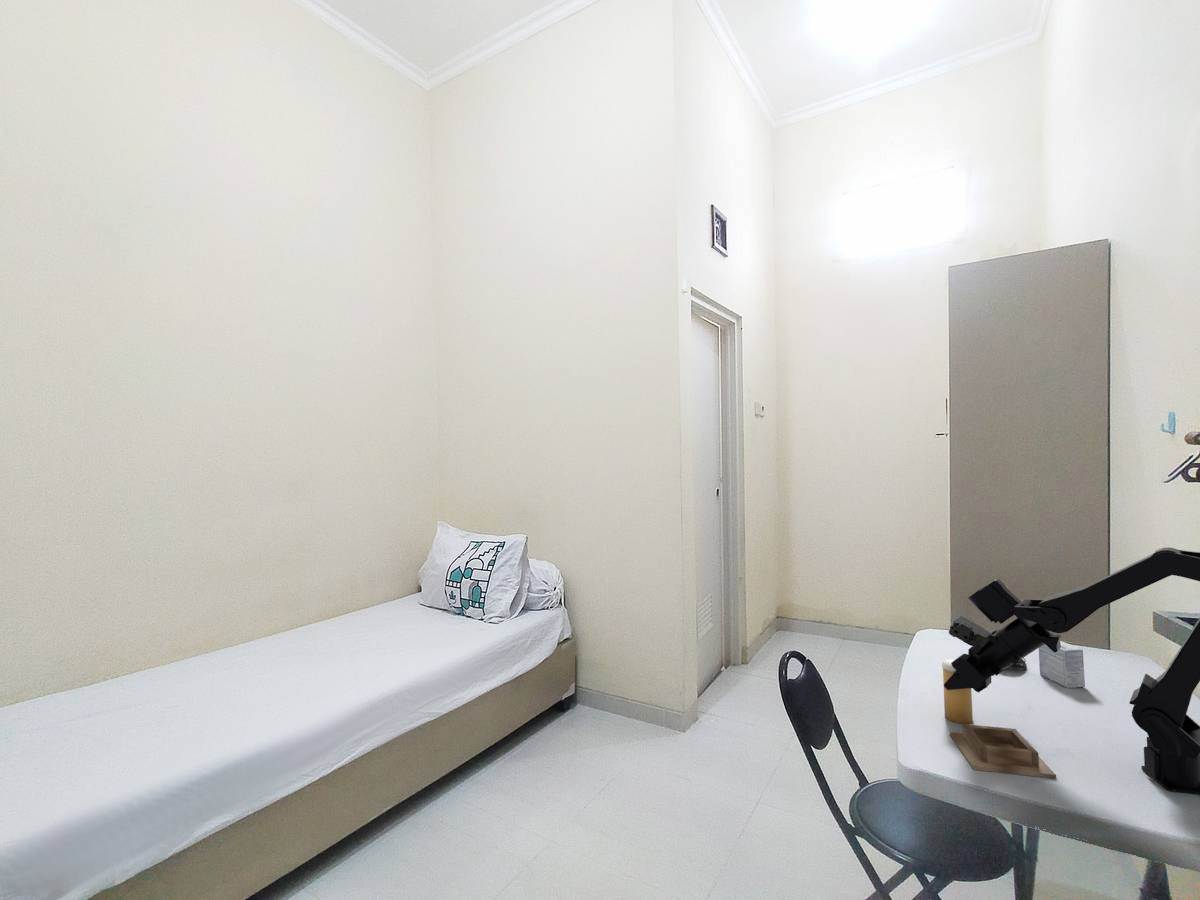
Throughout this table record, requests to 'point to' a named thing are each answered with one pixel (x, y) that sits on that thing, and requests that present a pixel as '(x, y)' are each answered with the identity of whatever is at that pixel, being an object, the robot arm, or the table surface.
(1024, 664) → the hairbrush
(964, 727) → the bottle holder
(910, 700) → the table surface
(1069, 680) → the medicine box
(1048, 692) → the table surface
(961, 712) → the pill bottle
